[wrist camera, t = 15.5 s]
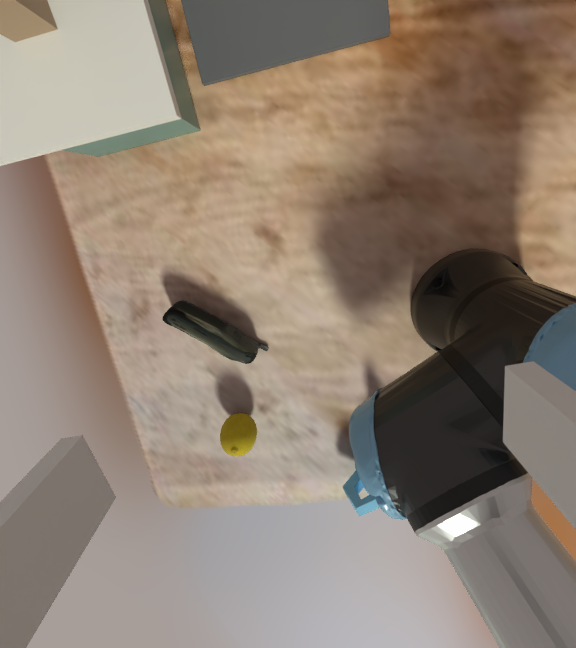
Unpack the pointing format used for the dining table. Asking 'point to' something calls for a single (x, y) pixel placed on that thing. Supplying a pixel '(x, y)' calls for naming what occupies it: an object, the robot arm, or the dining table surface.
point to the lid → (78, 74)
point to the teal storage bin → (180, 90)
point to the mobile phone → (212, 332)
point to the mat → (276, 32)
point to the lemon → (238, 434)
